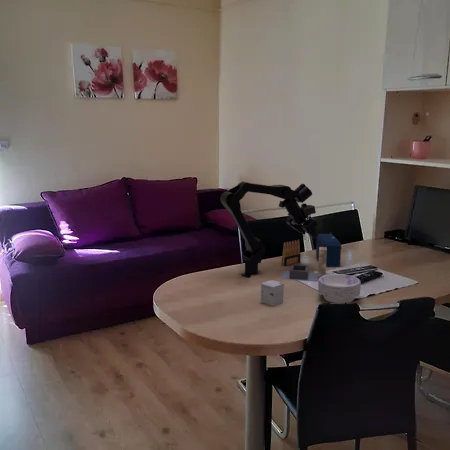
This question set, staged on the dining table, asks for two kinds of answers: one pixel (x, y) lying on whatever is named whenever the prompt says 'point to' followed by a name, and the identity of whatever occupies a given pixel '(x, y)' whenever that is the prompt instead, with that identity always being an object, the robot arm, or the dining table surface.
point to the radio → (329, 249)
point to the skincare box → (272, 292)
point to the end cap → (299, 272)
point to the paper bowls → (339, 288)
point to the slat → (322, 261)
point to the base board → (310, 278)
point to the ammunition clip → (291, 253)
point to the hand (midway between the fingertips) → (310, 236)
